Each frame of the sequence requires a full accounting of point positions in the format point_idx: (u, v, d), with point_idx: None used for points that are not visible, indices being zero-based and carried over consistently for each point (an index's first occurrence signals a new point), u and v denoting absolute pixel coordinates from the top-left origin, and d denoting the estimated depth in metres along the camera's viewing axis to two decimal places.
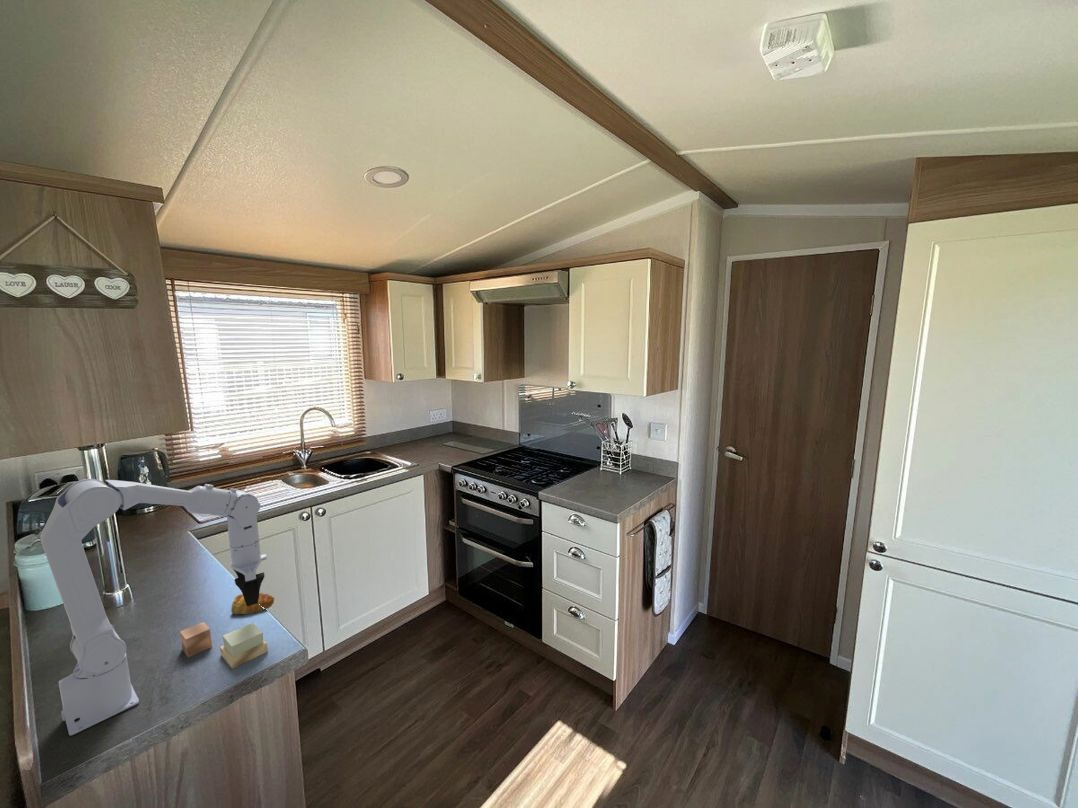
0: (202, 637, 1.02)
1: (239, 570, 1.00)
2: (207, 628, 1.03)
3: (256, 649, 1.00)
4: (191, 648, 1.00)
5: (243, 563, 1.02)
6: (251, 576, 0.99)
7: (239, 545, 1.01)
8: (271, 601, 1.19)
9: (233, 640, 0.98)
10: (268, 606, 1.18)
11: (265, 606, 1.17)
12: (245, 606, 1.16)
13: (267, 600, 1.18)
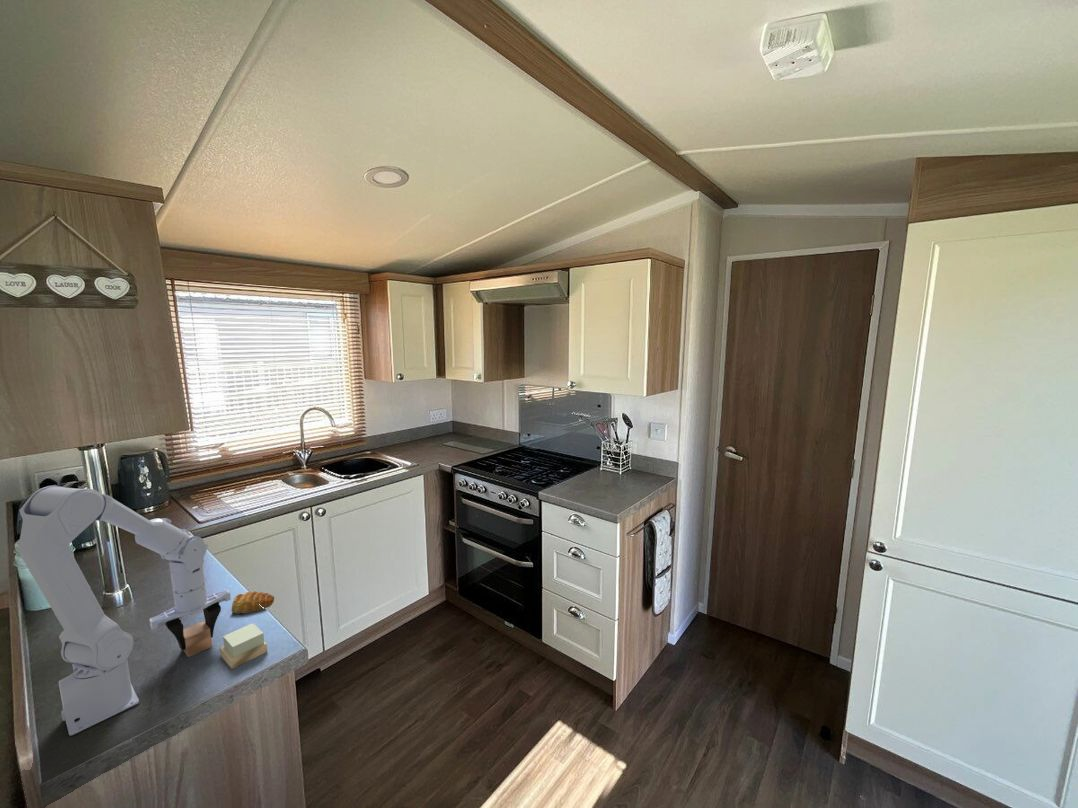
0: (202, 637, 1.02)
1: None
2: (207, 628, 1.03)
3: (256, 650, 1.00)
4: (191, 647, 1.00)
5: (175, 607, 1.00)
6: (151, 625, 0.96)
7: (188, 590, 0.99)
8: (271, 600, 1.19)
9: (234, 640, 0.98)
10: (268, 605, 1.19)
11: (266, 605, 1.18)
12: (246, 606, 1.16)
13: (267, 599, 1.19)
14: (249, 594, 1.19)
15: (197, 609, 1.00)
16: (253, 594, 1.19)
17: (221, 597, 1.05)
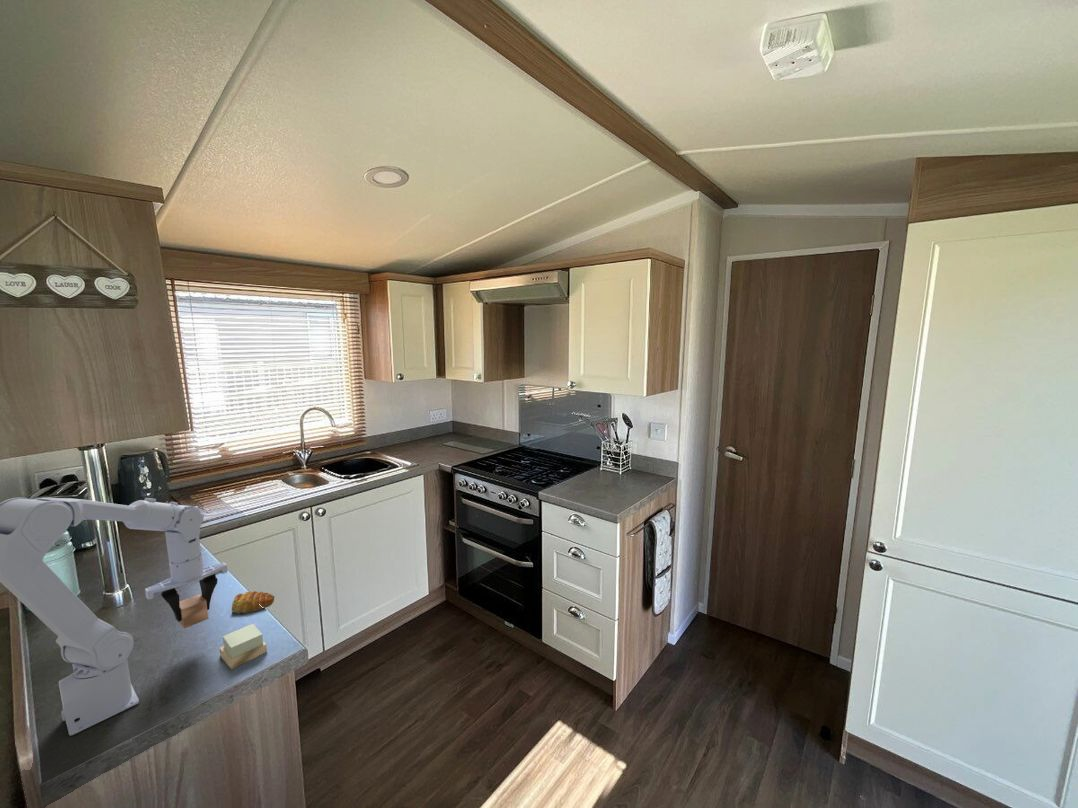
0: (198, 609, 1.01)
1: None
2: (203, 599, 1.02)
3: (256, 650, 0.99)
4: (188, 619, 0.99)
5: (171, 577, 0.99)
6: (146, 595, 0.95)
7: (184, 560, 0.98)
8: (271, 599, 1.20)
9: (233, 641, 0.98)
10: (268, 605, 1.19)
11: (266, 605, 1.18)
12: (246, 605, 1.16)
13: (267, 598, 1.19)
14: (249, 594, 1.19)
15: (193, 580, 0.99)
16: (253, 594, 1.19)
17: (218, 569, 1.04)
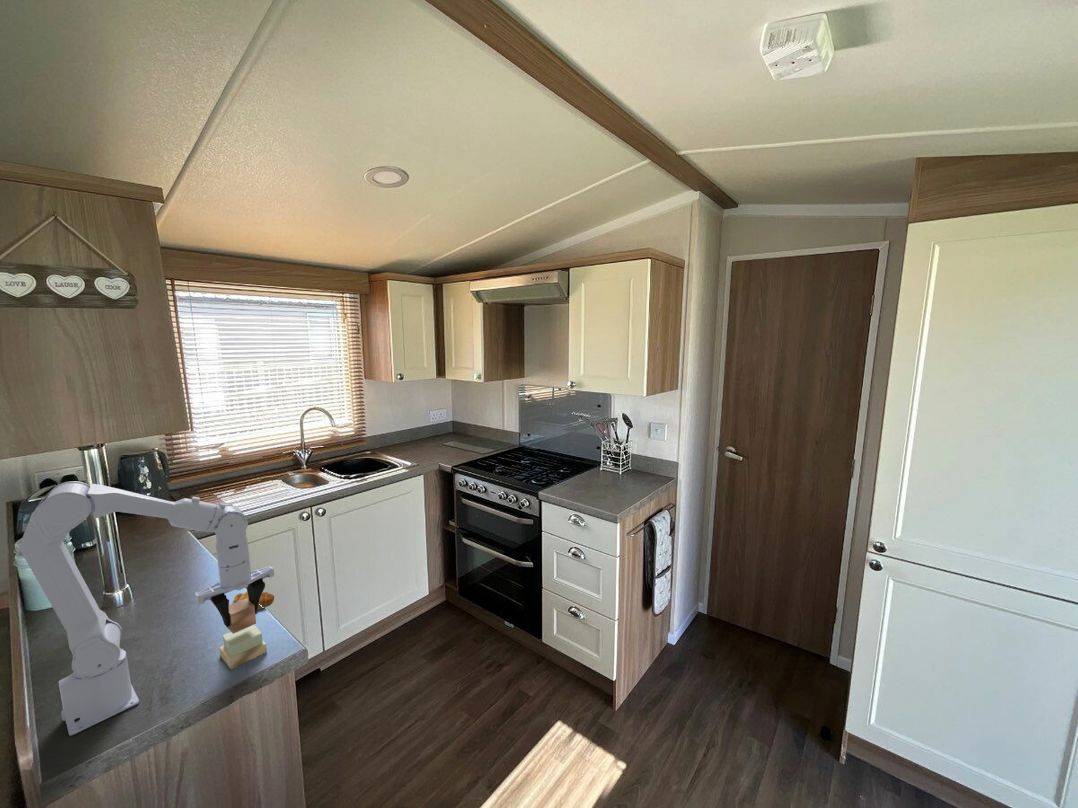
0: (247, 613, 0.99)
1: None
2: (251, 604, 1.00)
3: (256, 650, 0.99)
4: (236, 624, 0.97)
5: (220, 582, 0.97)
6: (197, 600, 0.93)
7: (224, 565, 0.95)
8: (271, 599, 1.20)
9: (233, 640, 0.98)
10: (268, 604, 1.19)
11: (266, 604, 1.18)
12: None
13: (267, 598, 1.19)
14: None
15: (243, 584, 0.97)
16: None
17: (265, 573, 1.02)
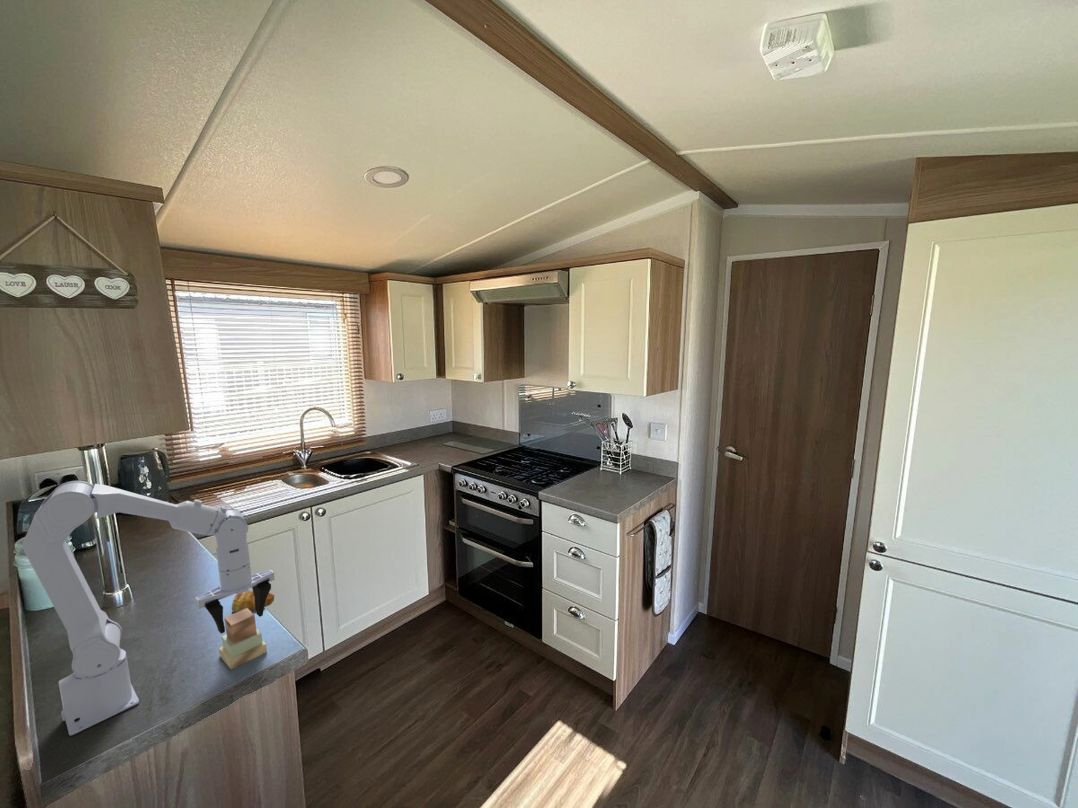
0: (247, 624, 0.99)
1: None
2: (252, 614, 1.00)
3: (255, 650, 0.99)
4: (237, 634, 0.98)
5: (220, 586, 0.97)
6: (197, 604, 0.93)
7: (225, 569, 0.95)
8: (271, 598, 1.20)
9: None
10: (269, 604, 1.19)
11: (266, 603, 1.19)
12: (246, 604, 1.17)
13: (267, 597, 1.20)
14: (249, 593, 1.20)
15: (243, 588, 0.97)
16: (253, 593, 1.20)
17: (265, 577, 1.02)
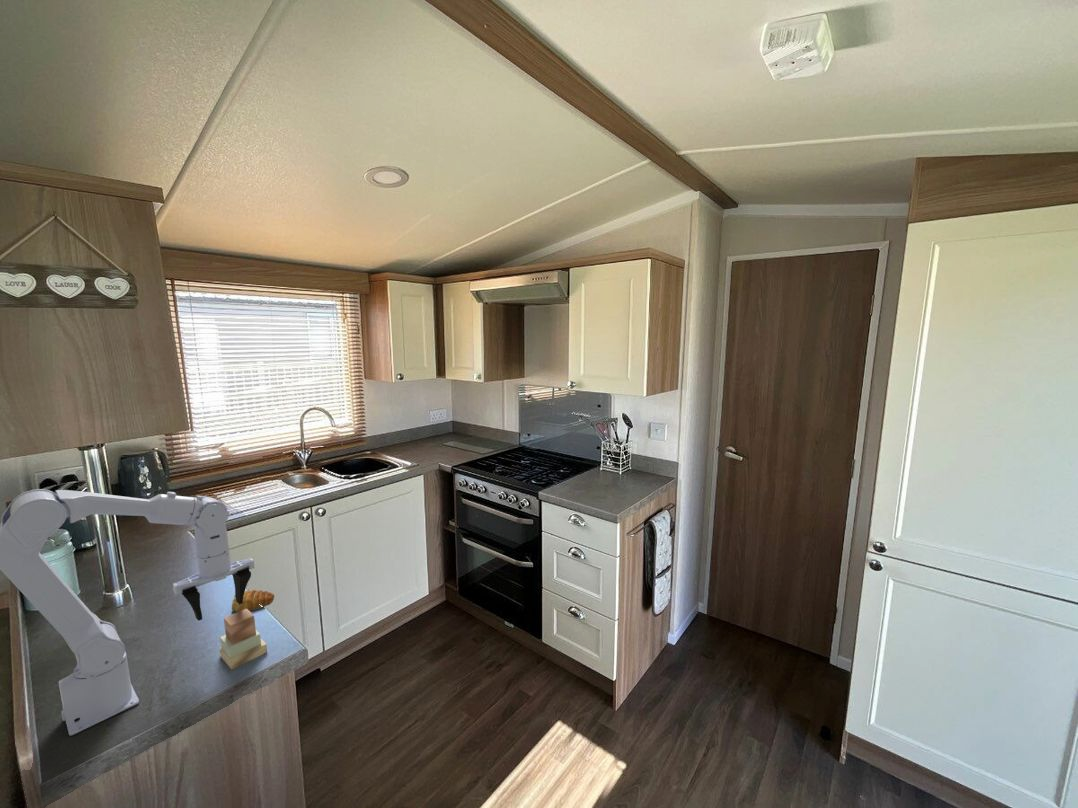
0: (247, 624, 0.99)
1: None
2: (251, 615, 1.00)
3: (256, 650, 0.99)
4: (236, 635, 0.97)
5: None
6: (174, 590, 0.93)
7: (205, 556, 0.95)
8: (271, 598, 1.21)
9: None
10: (269, 603, 1.20)
11: (266, 603, 1.19)
12: (246, 604, 1.17)
13: (267, 597, 1.20)
14: (249, 592, 1.20)
15: (221, 575, 0.97)
16: (253, 592, 1.20)
17: (245, 565, 1.02)
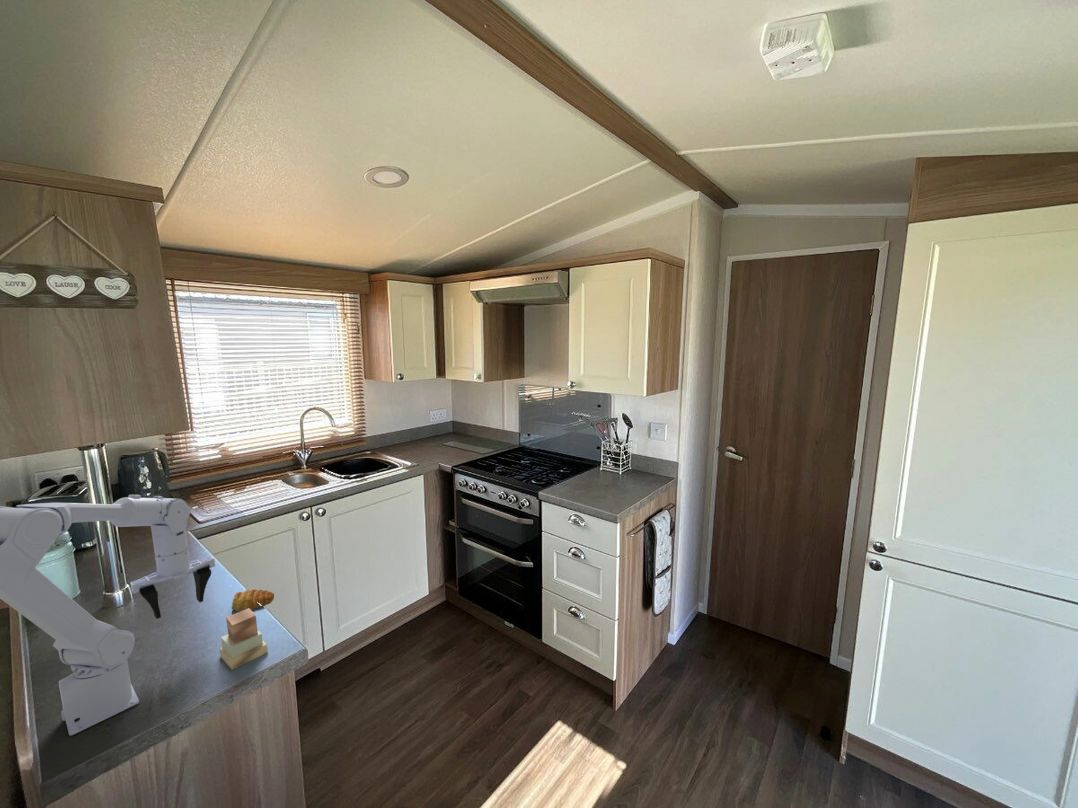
0: (248, 624, 0.99)
1: None
2: (253, 614, 1.00)
3: (256, 650, 0.99)
4: (238, 634, 0.98)
5: (157, 571, 0.98)
6: (131, 588, 0.94)
7: (172, 553, 0.97)
8: (272, 597, 1.21)
9: (232, 641, 0.98)
10: (269, 602, 1.20)
11: (266, 602, 1.20)
12: (246, 603, 1.17)
13: (267, 596, 1.20)
14: (249, 592, 1.20)
15: (179, 573, 0.98)
16: (253, 592, 1.20)
17: (205, 563, 1.03)
